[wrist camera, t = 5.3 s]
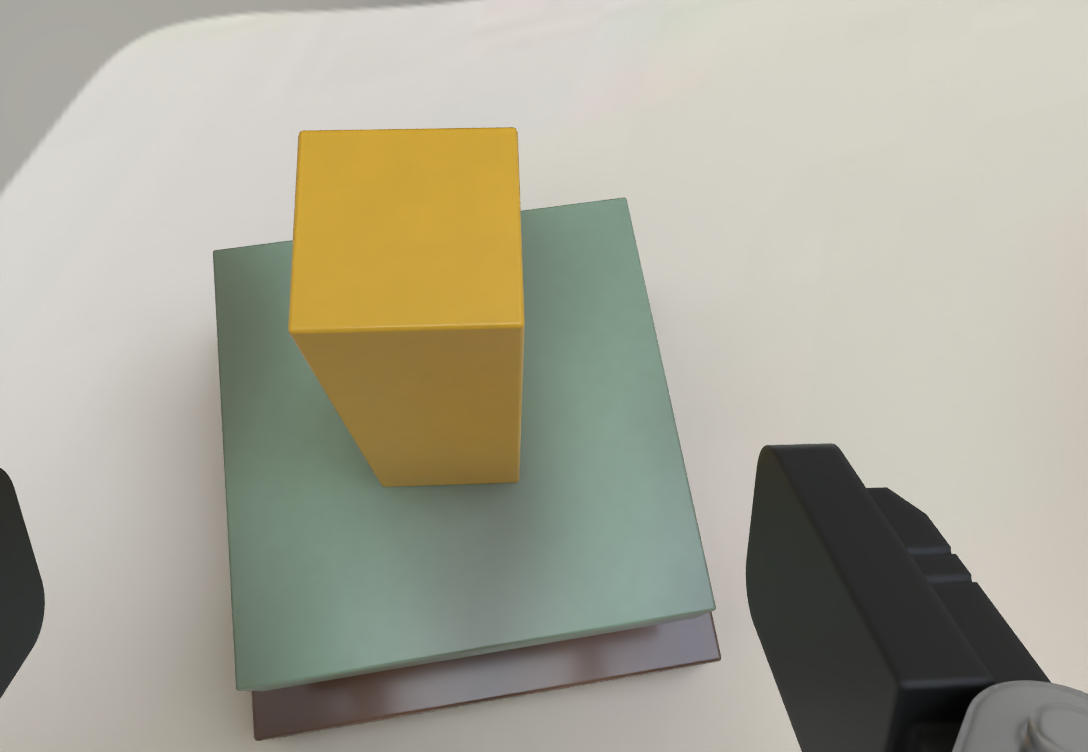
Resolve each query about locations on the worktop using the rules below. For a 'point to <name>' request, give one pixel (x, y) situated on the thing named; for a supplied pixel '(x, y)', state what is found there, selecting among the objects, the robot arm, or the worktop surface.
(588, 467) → the two-tone stepped base
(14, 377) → the worktop surface
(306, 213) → the bar
